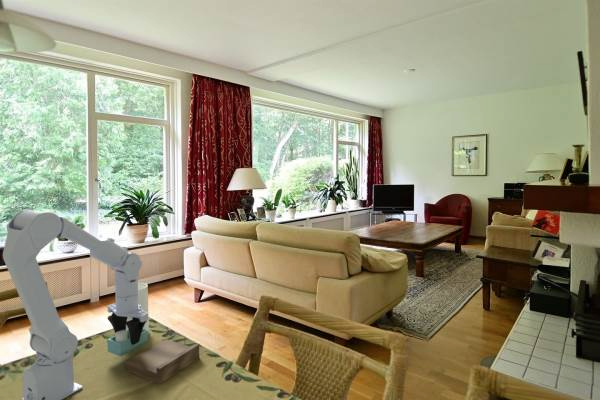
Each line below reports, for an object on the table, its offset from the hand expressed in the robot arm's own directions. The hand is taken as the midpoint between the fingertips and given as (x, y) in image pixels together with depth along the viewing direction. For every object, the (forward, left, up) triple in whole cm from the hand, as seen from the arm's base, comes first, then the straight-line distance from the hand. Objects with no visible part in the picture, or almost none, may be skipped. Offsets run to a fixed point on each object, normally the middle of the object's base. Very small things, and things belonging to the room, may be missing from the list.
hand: (128, 340), depth 101 cm
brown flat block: (+2, -12, -5) cm, 13 cm away
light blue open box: (0, 0, -2) cm, 2 cm away
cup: (+10, +10, -5) cm, 15 cm away
